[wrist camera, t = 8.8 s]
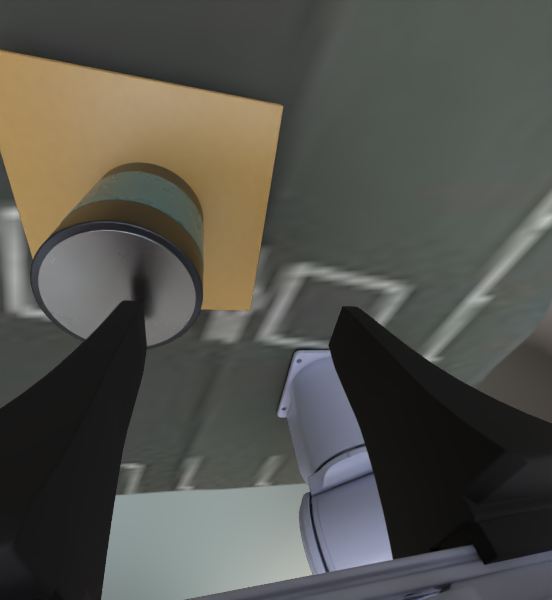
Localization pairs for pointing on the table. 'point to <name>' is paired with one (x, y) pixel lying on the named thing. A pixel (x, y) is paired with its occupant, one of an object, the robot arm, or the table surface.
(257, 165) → the platform
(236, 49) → the table surface
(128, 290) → the can
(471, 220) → the table surface
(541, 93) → the table surface
